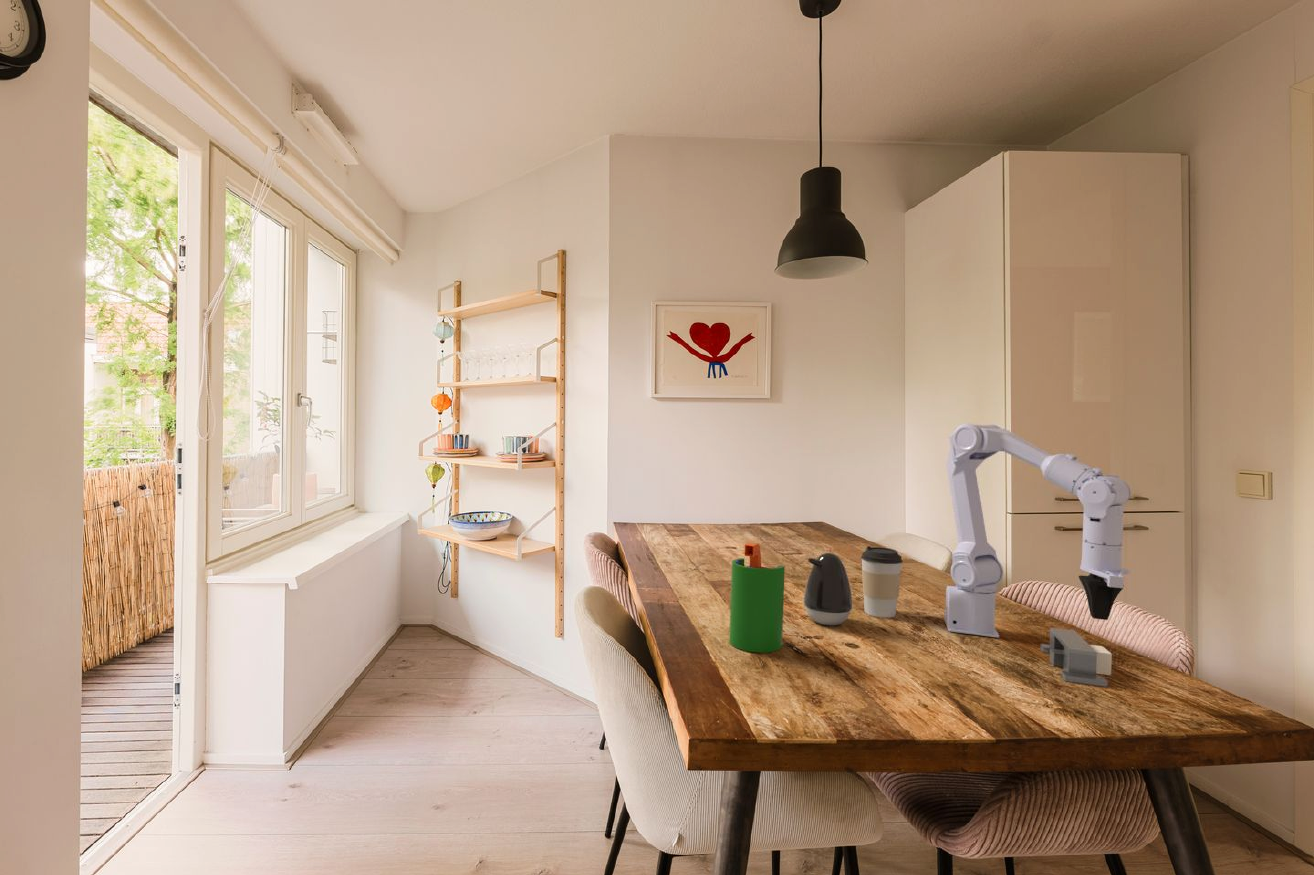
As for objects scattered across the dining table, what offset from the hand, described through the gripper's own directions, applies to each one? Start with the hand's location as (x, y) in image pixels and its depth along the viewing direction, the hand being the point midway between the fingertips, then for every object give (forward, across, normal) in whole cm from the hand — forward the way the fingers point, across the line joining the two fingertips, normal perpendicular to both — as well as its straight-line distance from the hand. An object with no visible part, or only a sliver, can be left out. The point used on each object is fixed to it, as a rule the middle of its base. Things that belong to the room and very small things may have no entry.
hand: (1099, 618), depth 105 cm
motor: (+10, -13, +60) cm, 62 cm away
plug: (+10, 0, +3) cm, 10 cm away
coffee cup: (+10, +19, +36) cm, 42 cm away
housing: (+9, 0, +4) cm, 10 cm away
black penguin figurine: (+10, +7, +48) cm, 49 cm away
